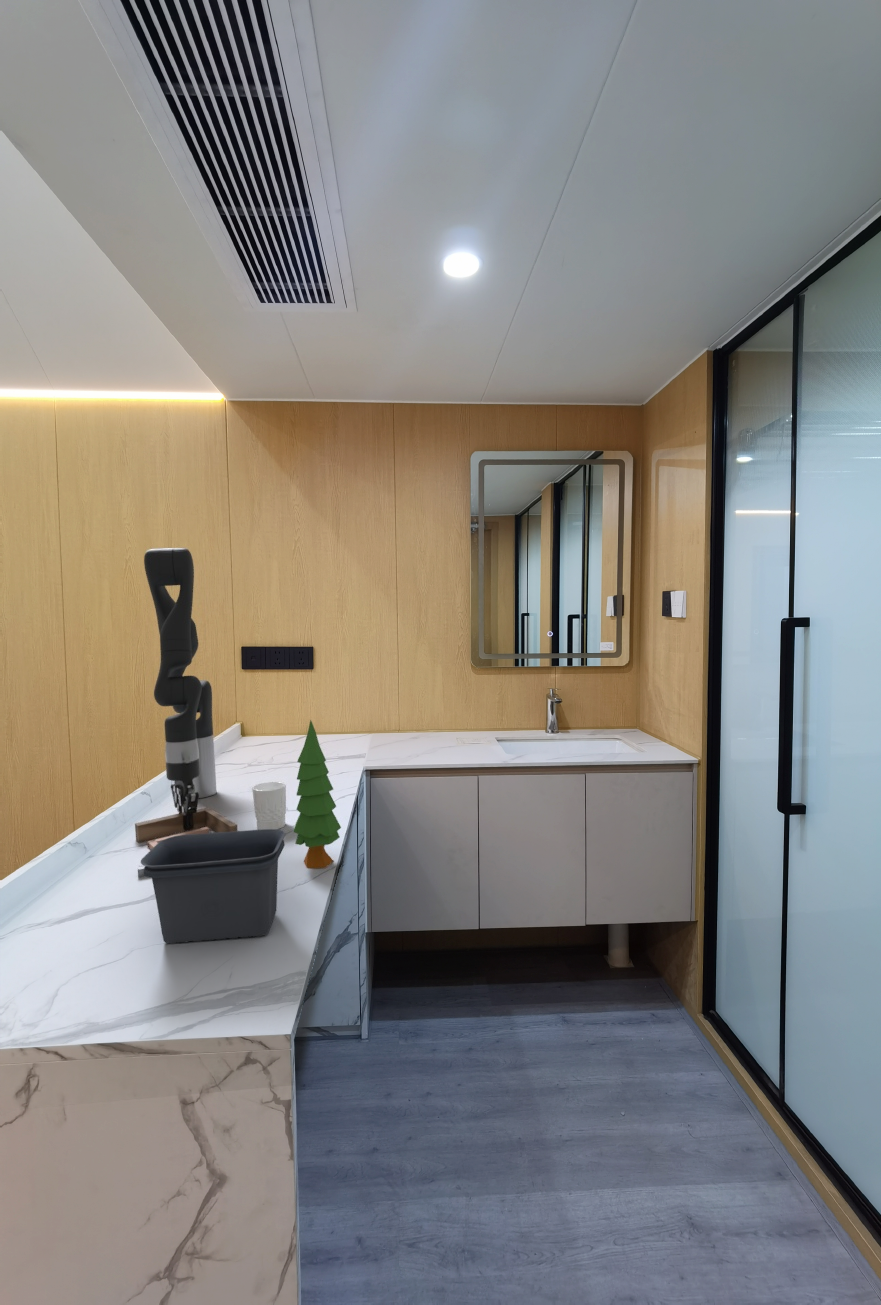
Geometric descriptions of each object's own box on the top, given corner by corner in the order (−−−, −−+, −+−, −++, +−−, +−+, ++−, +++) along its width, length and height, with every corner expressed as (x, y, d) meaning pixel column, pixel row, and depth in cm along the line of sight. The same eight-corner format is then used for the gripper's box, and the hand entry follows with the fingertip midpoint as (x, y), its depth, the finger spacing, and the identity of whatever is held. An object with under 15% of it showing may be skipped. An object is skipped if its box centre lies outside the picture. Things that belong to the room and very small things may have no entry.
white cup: (294, 822, 158) (292, 782, 157) (275, 833, 150) (273, 791, 150) (266, 819, 160) (264, 780, 160) (247, 830, 153) (245, 789, 152)
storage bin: (139, 955, 98) (132, 865, 97) (173, 908, 113) (168, 830, 112) (279, 945, 99) (274, 856, 98) (294, 900, 115) (290, 823, 114)
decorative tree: (325, 851, 138) (319, 714, 136) (351, 862, 131) (345, 719, 129) (286, 864, 131) (279, 721, 129) (311, 877, 124) (304, 726, 122)
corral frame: (147, 846, 144) (147, 841, 144) (207, 831, 153) (206, 826, 153) (168, 865, 133) (168, 860, 132) (231, 848, 141) (231, 843, 141)
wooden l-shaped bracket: (136, 840, 149) (134, 823, 148) (208, 822, 160) (207, 807, 159) (160, 862, 134) (159, 844, 134) (238, 841, 145) (237, 824, 145)
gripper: (157, 756, 157) (161, 824, 158) (175, 765, 146) (180, 839, 147) (188, 751, 161) (192, 817, 163) (208, 760, 151) (212, 831, 152)
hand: (186, 827), depth 155 cm, fingers closed on wooden l-shaped bracket, 2 cm apart
